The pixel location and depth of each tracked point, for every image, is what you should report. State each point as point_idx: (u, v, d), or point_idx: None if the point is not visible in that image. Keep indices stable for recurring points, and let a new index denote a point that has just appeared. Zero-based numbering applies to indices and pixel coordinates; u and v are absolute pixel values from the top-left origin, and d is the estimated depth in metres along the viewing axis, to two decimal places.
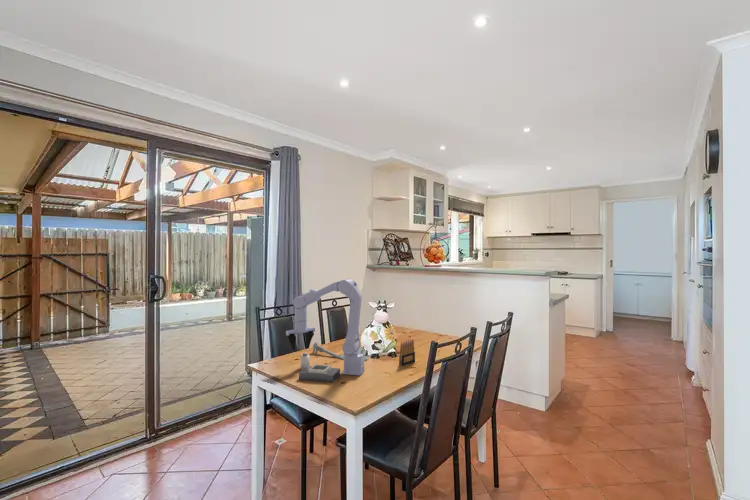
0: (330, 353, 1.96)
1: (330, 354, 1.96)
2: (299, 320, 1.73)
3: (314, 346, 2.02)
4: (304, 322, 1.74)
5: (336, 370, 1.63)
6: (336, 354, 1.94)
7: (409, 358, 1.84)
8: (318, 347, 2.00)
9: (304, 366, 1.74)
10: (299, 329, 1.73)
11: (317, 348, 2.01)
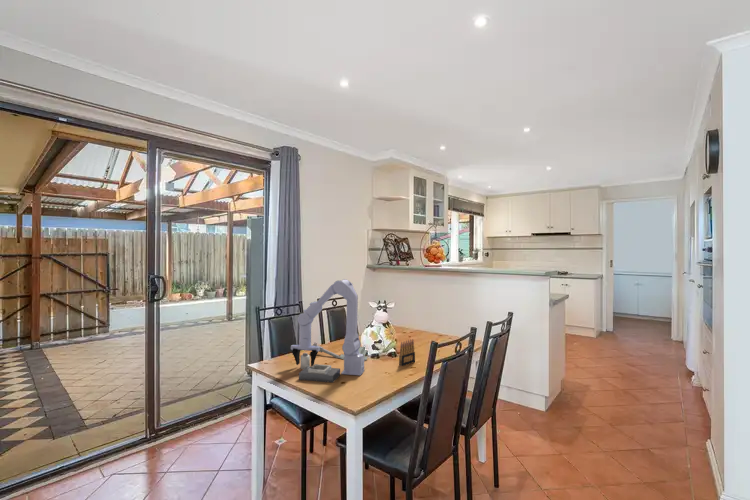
0: (330, 353, 1.95)
1: (330, 354, 1.95)
2: (303, 337, 1.73)
3: None
4: (304, 339, 1.73)
5: (336, 370, 1.63)
6: (336, 354, 1.94)
7: (409, 358, 1.84)
8: None
9: (304, 366, 1.74)
10: (300, 345, 1.74)
11: None
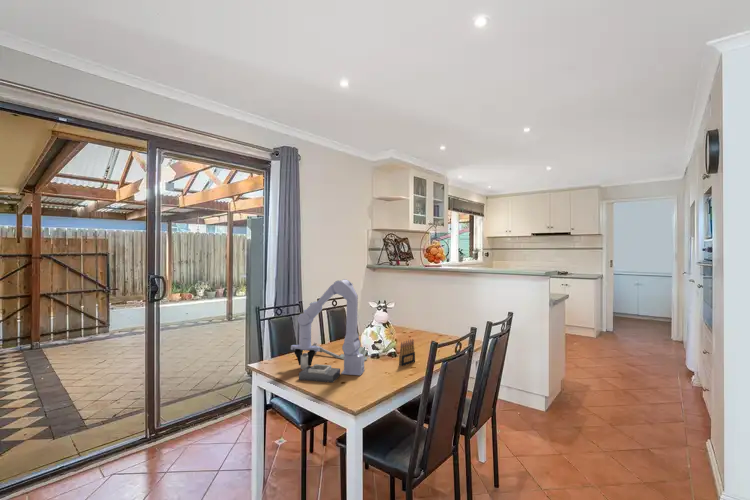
0: (330, 353, 1.95)
1: (330, 354, 1.95)
2: (303, 337, 1.73)
3: None
4: (304, 339, 1.73)
5: (336, 370, 1.63)
6: (336, 354, 1.94)
7: (409, 358, 1.84)
8: None
9: (304, 366, 1.74)
10: (300, 346, 1.74)
11: None
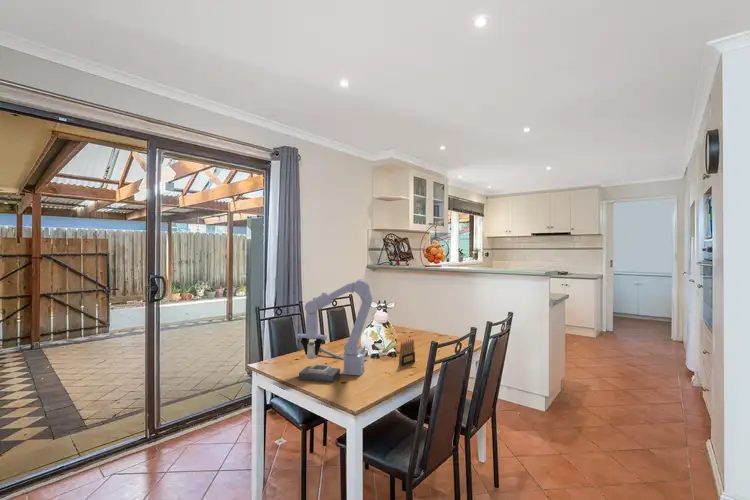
0: (329, 353, 1.95)
1: (329, 354, 1.95)
2: (312, 325, 1.67)
3: None
4: (311, 328, 1.67)
5: (336, 370, 1.63)
6: None
7: (409, 358, 1.84)
8: None
9: (311, 355, 1.68)
10: (306, 334, 1.68)
11: None
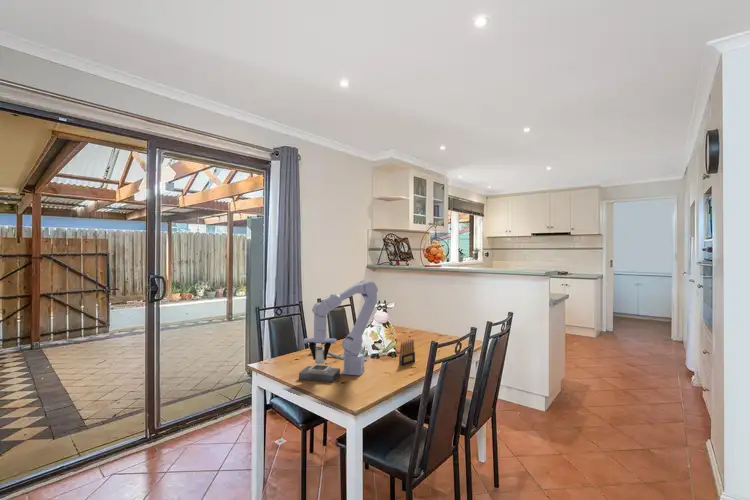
0: (329, 353, 1.95)
1: (329, 354, 1.95)
2: (323, 329, 1.61)
3: None
4: (320, 332, 1.60)
5: (336, 370, 1.63)
6: None
7: (409, 358, 1.84)
8: (316, 348, 1.99)
9: (320, 360, 1.61)
10: (315, 338, 1.60)
11: None
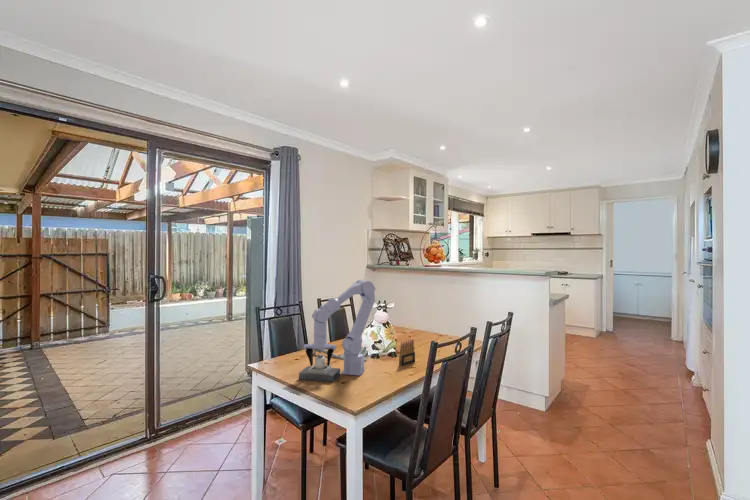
0: None
1: None
2: (323, 335, 1.60)
3: None
4: (320, 338, 1.60)
5: (336, 370, 1.63)
6: (335, 354, 1.94)
7: (409, 358, 1.84)
8: None
9: (320, 368, 1.61)
10: (315, 345, 1.60)
11: None
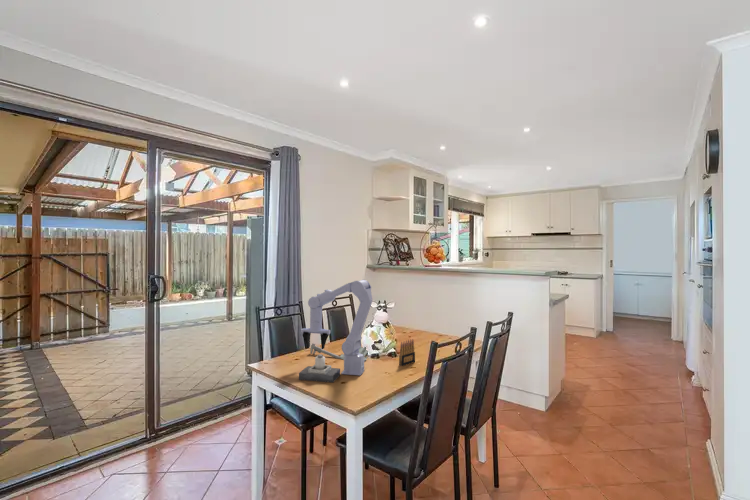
0: (329, 353, 1.95)
1: (329, 354, 1.95)
2: (314, 320, 1.74)
3: (312, 347, 2.00)
4: (315, 322, 1.74)
5: (336, 370, 1.63)
6: (335, 354, 1.94)
7: (409, 358, 1.84)
8: (316, 348, 1.99)
9: (320, 368, 1.61)
10: (310, 329, 1.75)
11: (314, 349, 1.99)
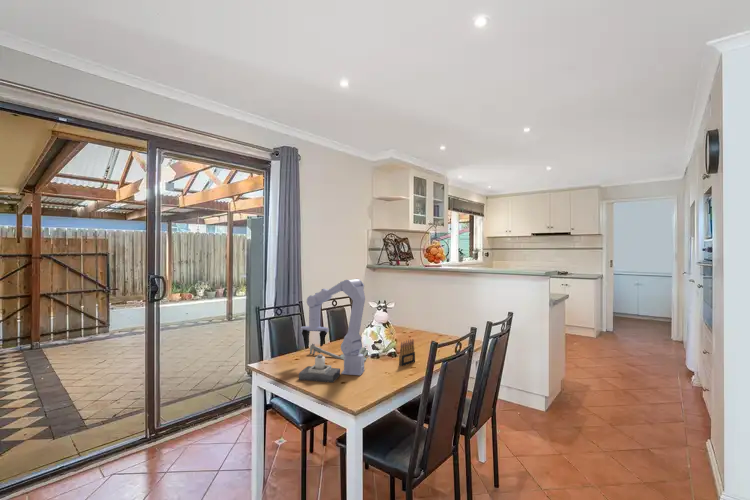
0: (329, 354, 1.94)
1: (329, 355, 1.94)
2: (311, 318, 1.80)
3: (311, 347, 2.00)
4: (314, 321, 1.80)
5: (336, 370, 1.63)
6: None
7: (409, 358, 1.84)
8: (315, 348, 1.99)
9: (320, 368, 1.61)
10: (309, 326, 1.80)
11: (314, 349, 1.99)
